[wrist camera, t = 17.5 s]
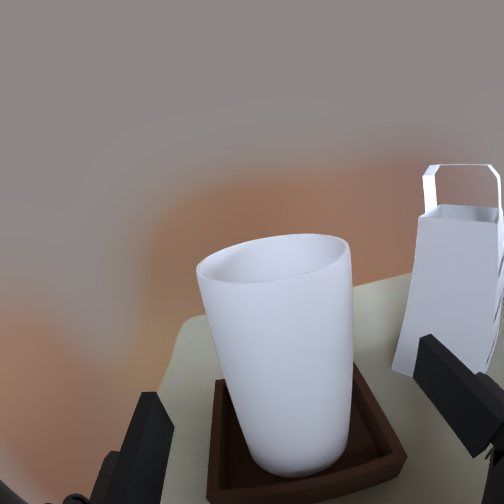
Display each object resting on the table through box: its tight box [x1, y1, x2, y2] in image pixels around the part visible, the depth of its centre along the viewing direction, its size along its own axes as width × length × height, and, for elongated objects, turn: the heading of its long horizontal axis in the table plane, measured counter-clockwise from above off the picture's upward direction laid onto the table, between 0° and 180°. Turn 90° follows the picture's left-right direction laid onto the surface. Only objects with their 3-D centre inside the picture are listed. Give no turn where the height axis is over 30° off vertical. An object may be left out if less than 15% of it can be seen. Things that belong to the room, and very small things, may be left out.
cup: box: [196, 234, 353, 478], centre depth 17 cm, size 8×8×16 cm
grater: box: [391, 164, 504, 378], centre depth 21 cm, size 10×10×20 cm
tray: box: [206, 361, 407, 504], centre depth 19 cm, size 13×13×3 cm
